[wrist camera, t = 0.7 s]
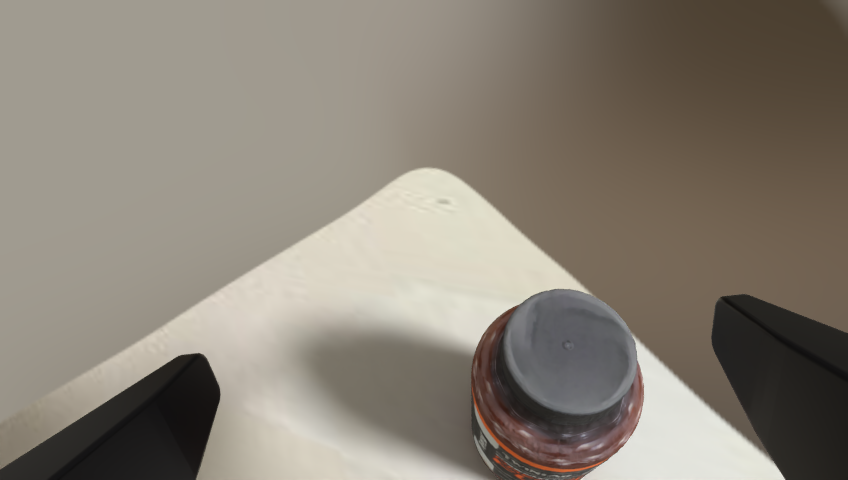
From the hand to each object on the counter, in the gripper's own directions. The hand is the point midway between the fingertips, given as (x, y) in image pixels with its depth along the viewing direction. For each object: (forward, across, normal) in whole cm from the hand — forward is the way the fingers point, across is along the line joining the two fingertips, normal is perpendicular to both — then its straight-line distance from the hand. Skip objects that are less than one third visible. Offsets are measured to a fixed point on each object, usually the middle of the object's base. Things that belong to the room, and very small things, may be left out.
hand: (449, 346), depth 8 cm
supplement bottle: (+11, -2, +14) cm, 18 cm away
